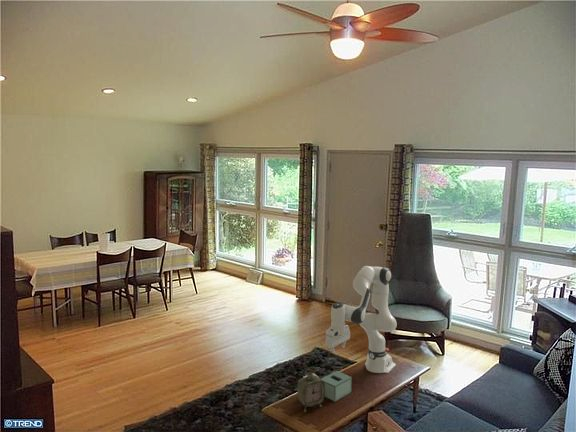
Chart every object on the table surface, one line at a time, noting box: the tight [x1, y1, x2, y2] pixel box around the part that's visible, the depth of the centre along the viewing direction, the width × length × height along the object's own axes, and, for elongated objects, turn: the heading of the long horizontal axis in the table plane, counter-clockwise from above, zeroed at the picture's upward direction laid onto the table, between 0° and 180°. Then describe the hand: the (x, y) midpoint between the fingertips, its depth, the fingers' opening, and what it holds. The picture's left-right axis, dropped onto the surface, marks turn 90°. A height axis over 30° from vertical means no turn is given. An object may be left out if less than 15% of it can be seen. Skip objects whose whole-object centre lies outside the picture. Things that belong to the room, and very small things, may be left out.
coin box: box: [320, 370, 353, 403], centre depth 281 cm, size 16×12×10 cm
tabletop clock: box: [296, 366, 326, 413], centre depth 264 cm, size 14×9×25 cm, turn 119°
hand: (338, 350), depth 282 cm, fingers open, 8 cm apart
